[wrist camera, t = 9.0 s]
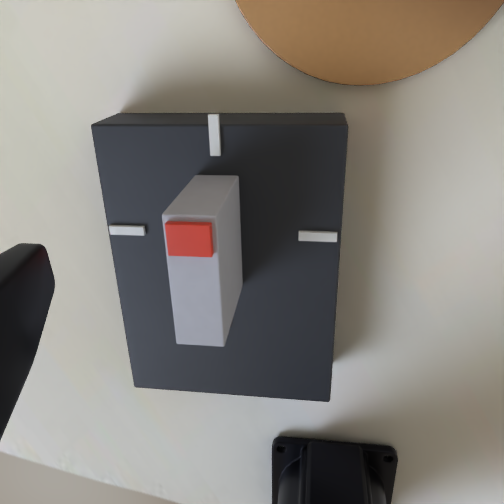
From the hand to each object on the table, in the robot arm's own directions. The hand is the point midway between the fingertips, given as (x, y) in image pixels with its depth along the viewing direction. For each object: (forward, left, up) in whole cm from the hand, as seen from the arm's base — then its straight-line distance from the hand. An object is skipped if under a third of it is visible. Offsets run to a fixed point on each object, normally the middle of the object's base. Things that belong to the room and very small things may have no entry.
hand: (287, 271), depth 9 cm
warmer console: (-5, +3, -11) cm, 12 cm away
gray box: (-3, +3, -8) cm, 9 cm away
